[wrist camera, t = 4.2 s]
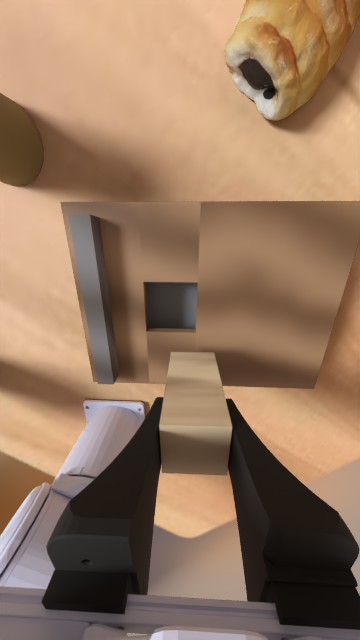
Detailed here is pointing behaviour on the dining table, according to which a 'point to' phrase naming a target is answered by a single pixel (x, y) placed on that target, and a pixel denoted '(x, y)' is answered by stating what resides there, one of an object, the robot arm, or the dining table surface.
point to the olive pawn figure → (18, 145)
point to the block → (194, 417)
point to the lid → (213, 284)
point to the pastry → (287, 50)
